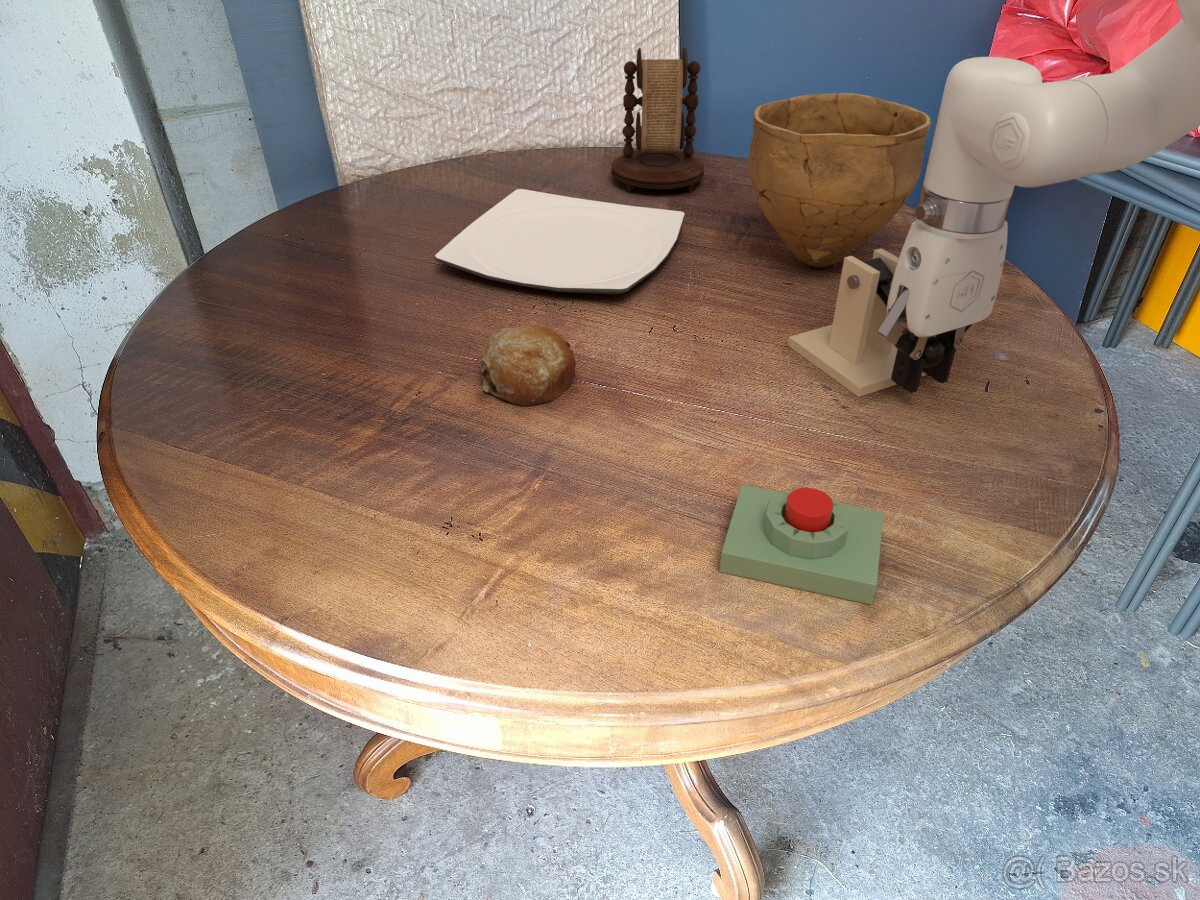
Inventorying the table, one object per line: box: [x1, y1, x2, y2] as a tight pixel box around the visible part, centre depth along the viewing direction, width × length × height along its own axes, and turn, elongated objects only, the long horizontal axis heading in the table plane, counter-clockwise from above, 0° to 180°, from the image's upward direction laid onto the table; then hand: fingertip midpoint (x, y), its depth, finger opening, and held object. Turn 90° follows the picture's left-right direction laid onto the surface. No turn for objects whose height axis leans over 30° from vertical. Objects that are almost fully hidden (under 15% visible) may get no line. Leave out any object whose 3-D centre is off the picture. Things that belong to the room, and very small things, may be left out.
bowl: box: [747, 92, 932, 269], centre depth 112 cm, size 21×20×20 cm
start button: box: [785, 487, 833, 533], centre depth 71 cm, size 4×4×2 cm
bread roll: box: [479, 325, 577, 407], centre depth 94 cm, size 10×10×8 cm
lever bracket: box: [787, 247, 928, 398], centre depth 95 cm, size 12×10×12 cm
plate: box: [434, 188, 686, 295], centre depth 121 cm, size 29×29×3 cm
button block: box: [718, 484, 885, 606], centre depth 73 cm, size 12×9×4 cm
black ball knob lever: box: [863, 257, 945, 368], centre depth 91 cm, size 13×3×3 cm, turn 28°
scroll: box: [610, 46, 705, 193], centre depth 137 cm, size 15×15×20 cm
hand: (918, 380), depth 91 cm, fingers closed on black ball knob lever, 3 cm apart
